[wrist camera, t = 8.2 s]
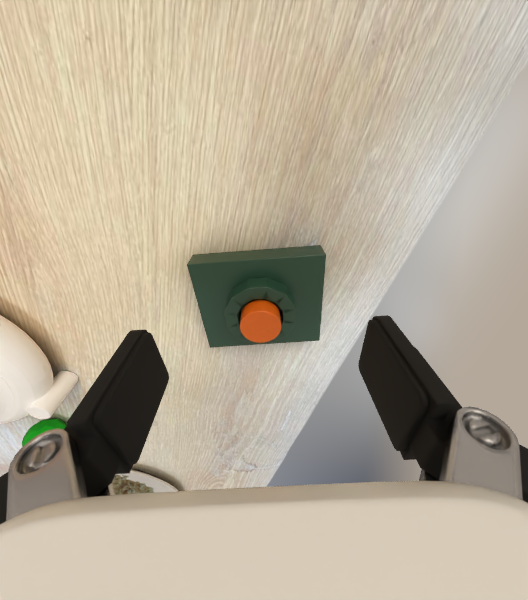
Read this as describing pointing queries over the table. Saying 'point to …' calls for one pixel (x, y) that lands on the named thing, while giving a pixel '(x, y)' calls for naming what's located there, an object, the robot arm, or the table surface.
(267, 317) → the button
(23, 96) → the table surface
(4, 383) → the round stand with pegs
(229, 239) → the table surface
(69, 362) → the table surface
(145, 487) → the plated food
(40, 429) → the polyhedron
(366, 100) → the table surface
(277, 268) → the button box
